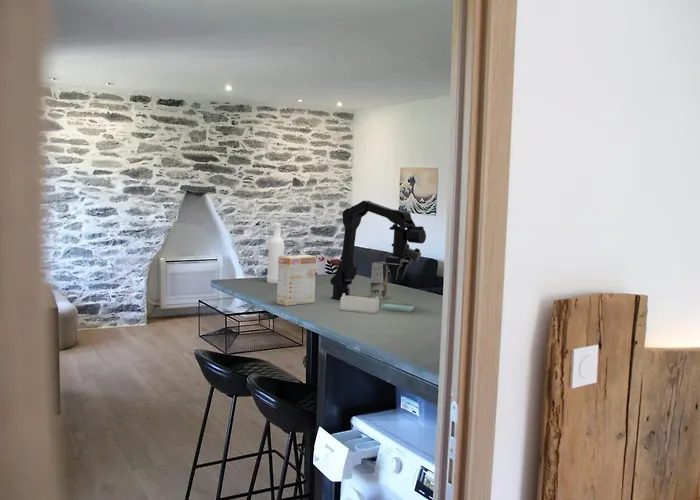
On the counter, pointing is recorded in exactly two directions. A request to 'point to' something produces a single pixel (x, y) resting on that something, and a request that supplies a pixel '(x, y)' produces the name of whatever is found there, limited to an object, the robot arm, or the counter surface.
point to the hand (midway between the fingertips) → (398, 279)
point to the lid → (397, 307)
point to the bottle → (274, 254)
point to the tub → (359, 304)
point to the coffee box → (379, 280)
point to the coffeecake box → (296, 279)
